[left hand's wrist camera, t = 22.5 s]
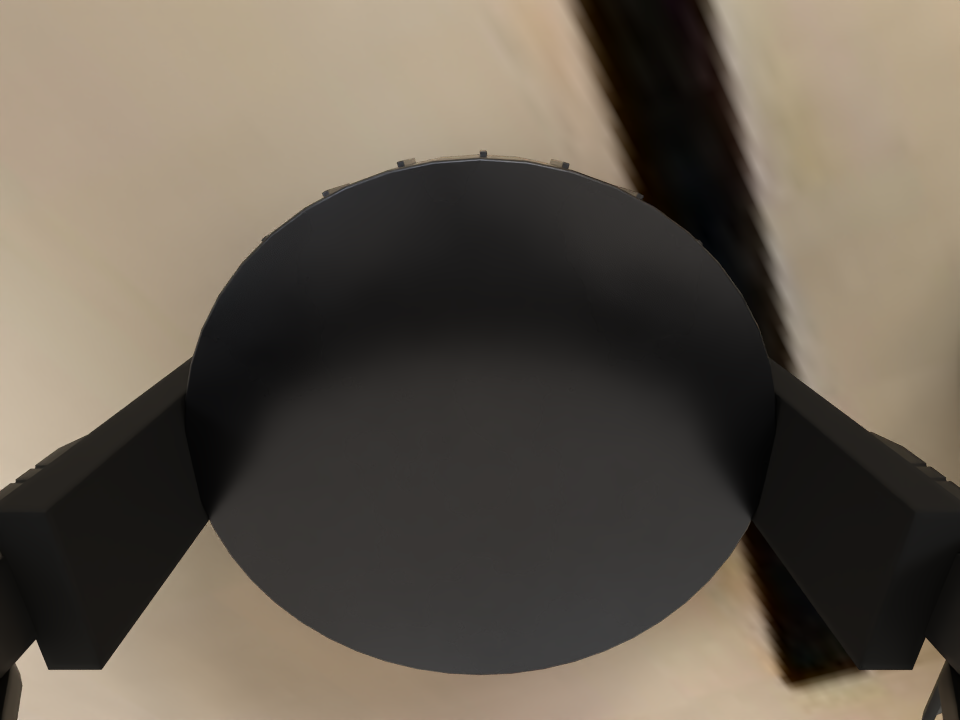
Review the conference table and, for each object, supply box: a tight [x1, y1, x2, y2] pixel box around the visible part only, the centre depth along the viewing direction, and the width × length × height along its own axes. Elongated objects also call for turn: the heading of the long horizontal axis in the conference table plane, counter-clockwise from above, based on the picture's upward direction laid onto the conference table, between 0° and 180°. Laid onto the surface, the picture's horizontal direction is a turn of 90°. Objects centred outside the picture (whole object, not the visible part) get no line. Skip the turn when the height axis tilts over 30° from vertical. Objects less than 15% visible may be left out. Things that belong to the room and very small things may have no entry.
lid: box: [185, 150, 776, 675], centre depth 11 cm, size 11×11×2 cm
